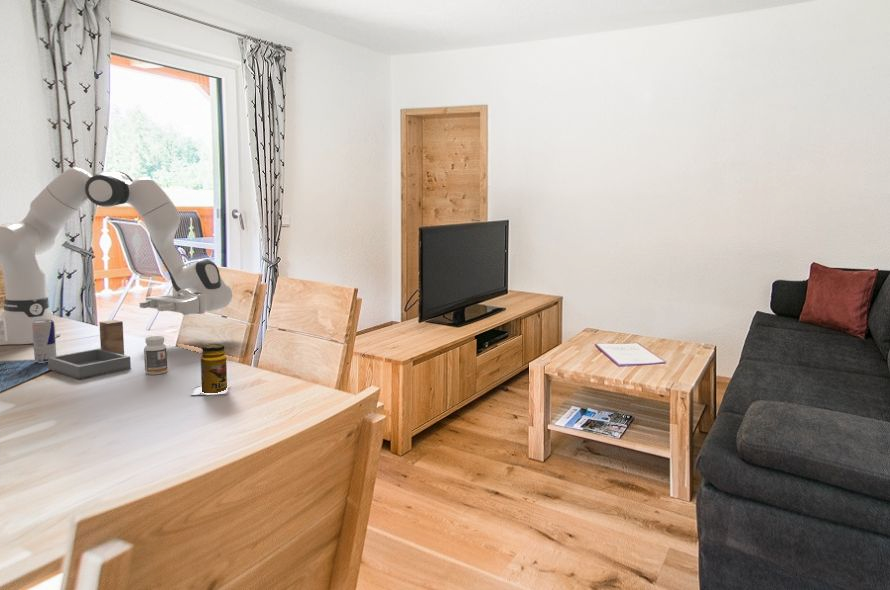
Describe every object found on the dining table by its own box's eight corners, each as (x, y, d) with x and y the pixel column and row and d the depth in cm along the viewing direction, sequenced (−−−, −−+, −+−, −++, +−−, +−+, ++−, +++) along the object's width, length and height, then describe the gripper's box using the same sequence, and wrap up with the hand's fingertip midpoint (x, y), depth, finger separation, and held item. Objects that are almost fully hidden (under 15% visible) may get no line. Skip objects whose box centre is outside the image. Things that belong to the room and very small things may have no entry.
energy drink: (61, 359, 176) (58, 319, 174) (47, 364, 171) (44, 323, 169) (44, 358, 177) (41, 318, 175) (30, 363, 171) (27, 322, 170)
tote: (48, 369, 165) (47, 357, 165) (99, 359, 177) (98, 348, 177) (79, 379, 157) (78, 367, 157) (130, 368, 169) (130, 356, 168)
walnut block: (101, 357, 180) (99, 321, 178) (115, 354, 184) (114, 319, 182) (109, 359, 177) (107, 323, 176) (124, 356, 181) (122, 321, 180)
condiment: (226, 395, 148) (225, 348, 147) (190, 396, 147) (188, 349, 145) (230, 386, 155) (229, 341, 154) (195, 387, 154) (194, 342, 152)
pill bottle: (172, 371, 167) (171, 337, 166) (154, 376, 162) (153, 340, 161) (158, 368, 170) (156, 334, 168) (140, 373, 165) (138, 338, 163)
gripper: (168, 289, 205) (129, 294, 194) (207, 294, 195) (168, 300, 183) (169, 307, 206) (131, 313, 195) (207, 313, 196) (169, 320, 184)
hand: (149, 307), depth 189 cm, fingers open, 8 cm apart
